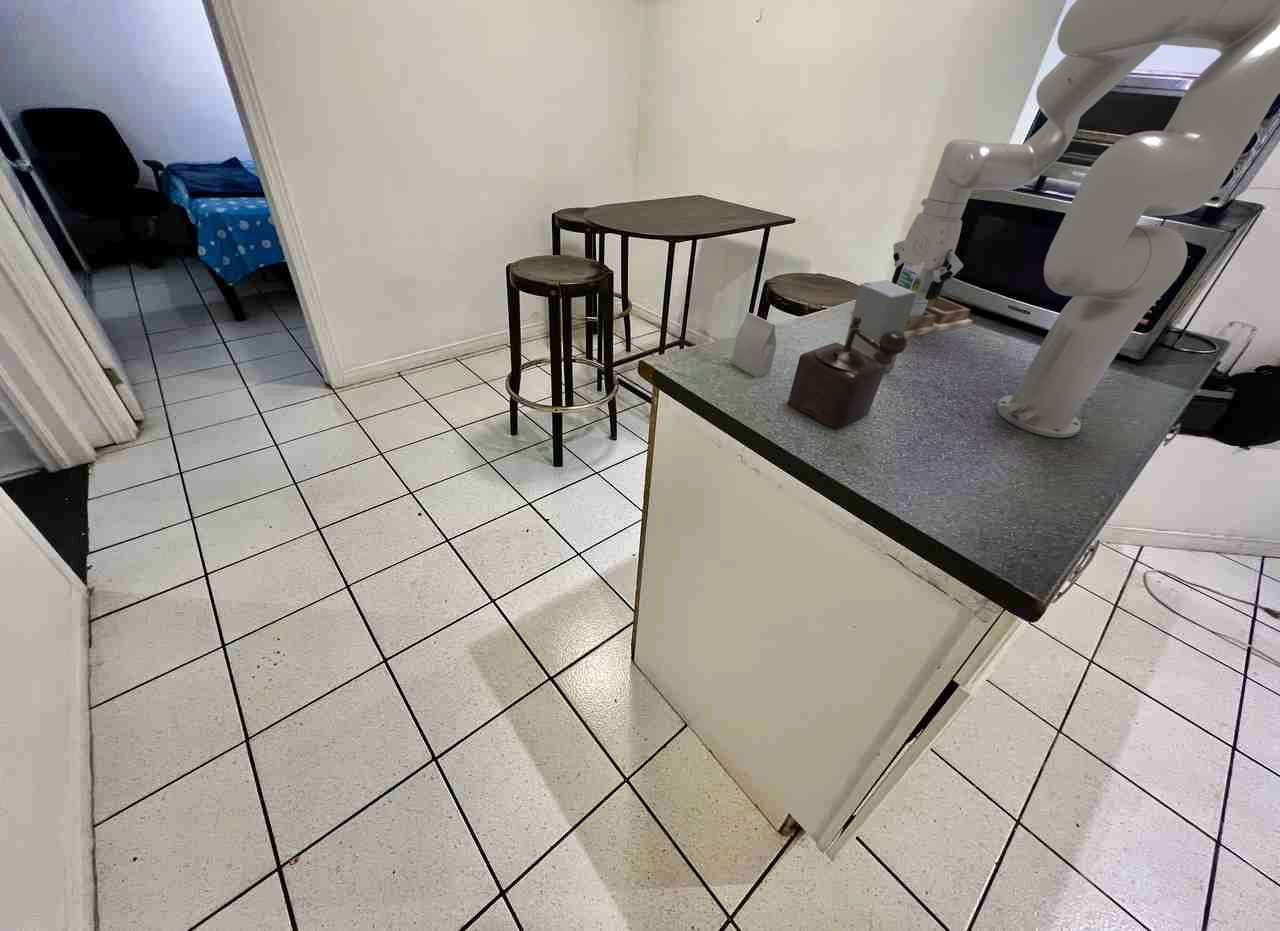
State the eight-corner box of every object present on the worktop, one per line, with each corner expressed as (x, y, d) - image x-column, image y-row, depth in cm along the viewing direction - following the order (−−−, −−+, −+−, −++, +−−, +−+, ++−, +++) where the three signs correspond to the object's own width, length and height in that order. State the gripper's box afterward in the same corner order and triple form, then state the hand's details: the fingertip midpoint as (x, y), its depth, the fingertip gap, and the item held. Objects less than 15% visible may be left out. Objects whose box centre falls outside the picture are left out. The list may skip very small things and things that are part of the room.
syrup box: (883, 317, 124) (906, 254, 116) (903, 315, 126) (926, 253, 117) (900, 326, 120) (924, 261, 111) (920, 324, 122) (946, 260, 113)
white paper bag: (756, 377, 98) (767, 327, 92) (731, 363, 103) (740, 313, 96) (769, 373, 100) (781, 323, 94) (745, 359, 104) (754, 310, 98)
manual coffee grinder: (782, 404, 91) (808, 303, 80) (820, 388, 97) (850, 291, 86) (860, 448, 81) (901, 340, 71) (897, 426, 87) (941, 323, 76)
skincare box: (892, 372, 103) (923, 293, 94) (863, 376, 101) (892, 296, 91) (863, 354, 110) (889, 277, 100) (835, 357, 107) (860, 280, 98)
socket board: (902, 338, 117) (907, 323, 115) (850, 312, 129) (854, 298, 126) (971, 324, 127) (977, 310, 125) (917, 301, 138) (922, 288, 136)
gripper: (897, 201, 113) (872, 281, 124) (968, 220, 101) (933, 306, 111) (921, 200, 116) (894, 278, 126) (992, 218, 104) (956, 302, 114)
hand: (913, 291), depth 119 cm, fingers open, 9 cm apart
